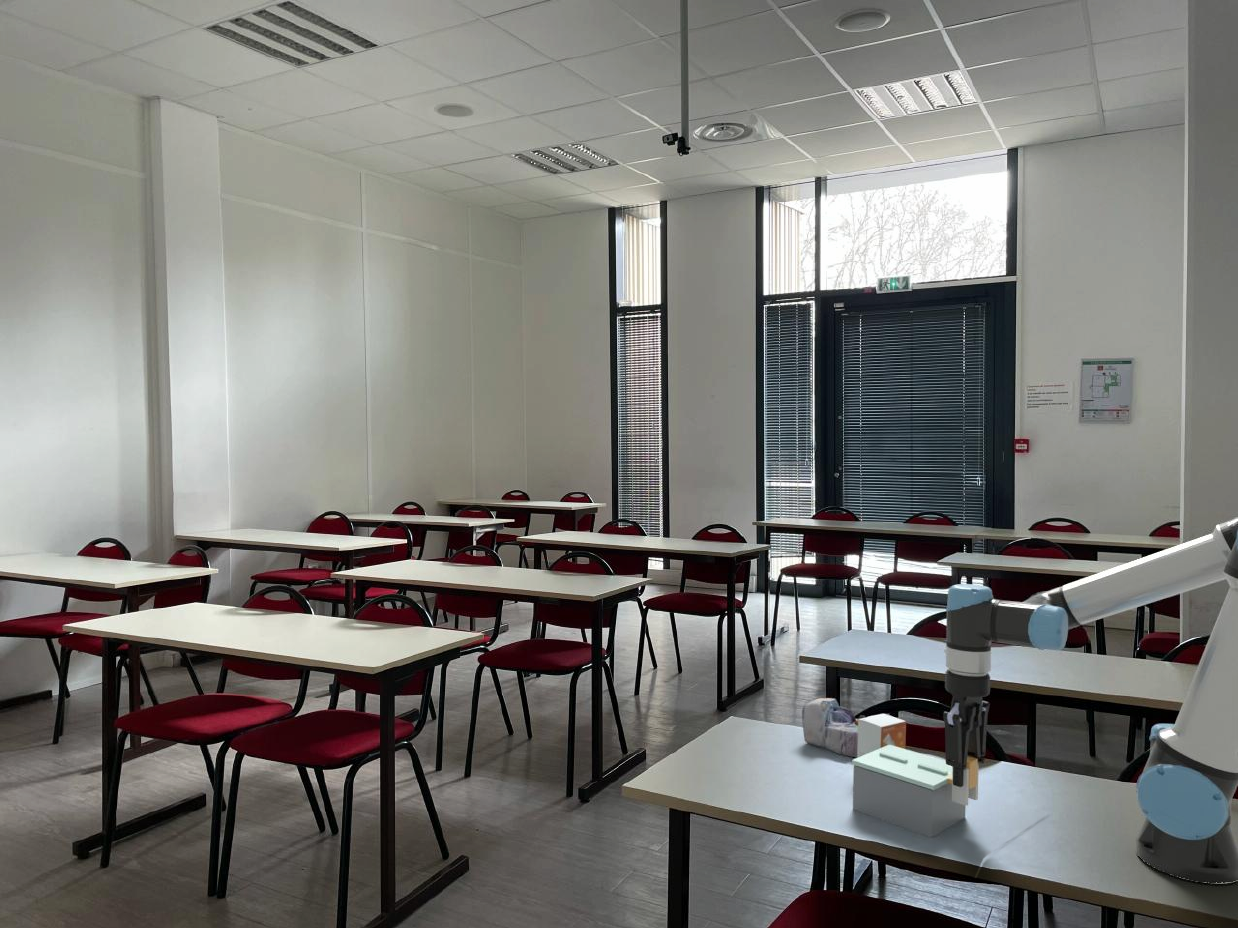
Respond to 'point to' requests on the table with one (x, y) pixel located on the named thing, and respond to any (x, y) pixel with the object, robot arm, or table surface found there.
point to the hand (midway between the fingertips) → (964, 799)
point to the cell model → (830, 726)
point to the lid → (913, 767)
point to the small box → (880, 733)
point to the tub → (905, 802)
